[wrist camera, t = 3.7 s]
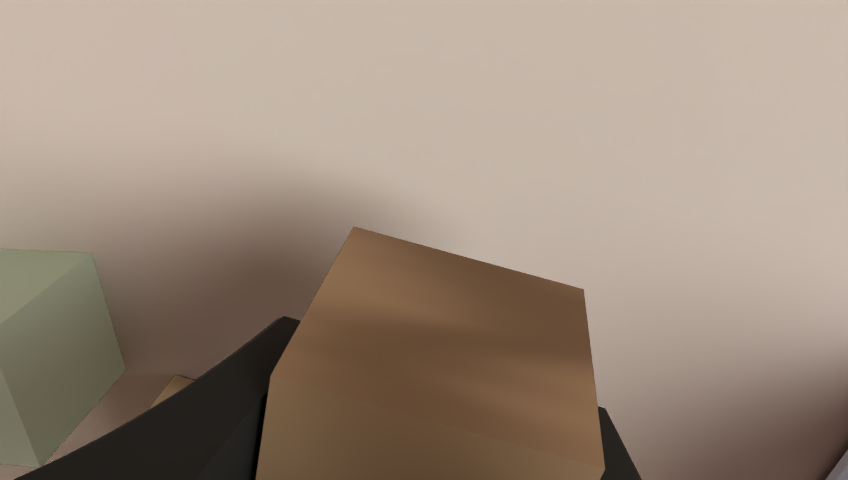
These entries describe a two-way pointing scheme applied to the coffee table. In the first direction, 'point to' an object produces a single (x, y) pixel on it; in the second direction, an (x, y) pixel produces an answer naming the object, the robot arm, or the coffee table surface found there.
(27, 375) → the block
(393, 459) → the walnut cube
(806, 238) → the coffee table surface
